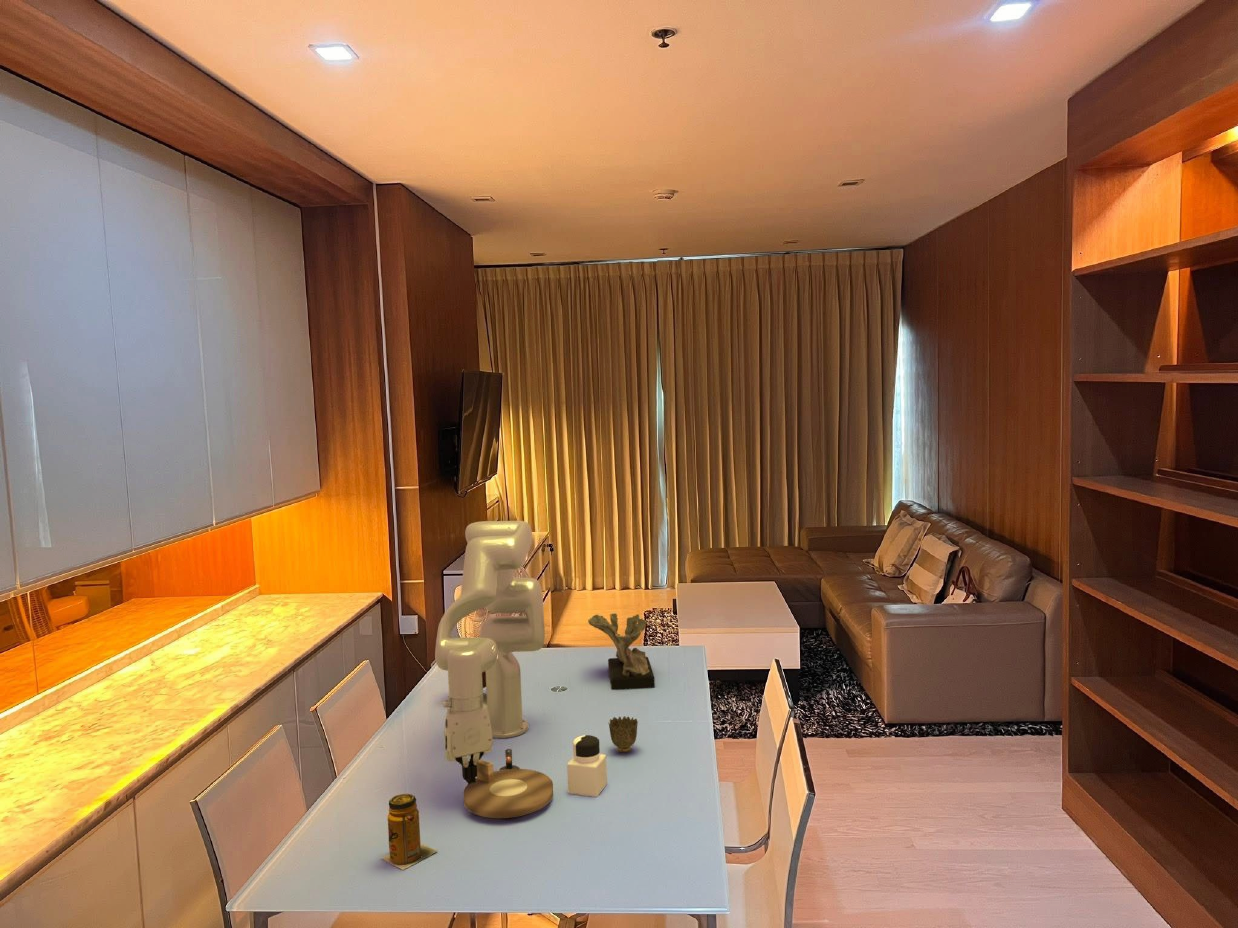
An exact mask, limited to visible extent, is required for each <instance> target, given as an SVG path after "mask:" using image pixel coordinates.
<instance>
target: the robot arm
mask: <svg viewBox="0 0 1238 928" xmlns="http://www.w3.org/2000/svg"><path fill="white" fill-rule="evenodd" d="M464 534H465V540H466V543H467V545H466V547H465V552H464V562H463V570H462V581H461V589H460V591H461V592H460V595H459V596H458V597H457V599H455V600H454V601H453V603H451V604H450V605H449V607H448V608H447V609H446V611H444V614H443V615H442V617H441V619H440V622H439V623H438V627H437V633H436V640H435V650H434V652H435V654H434V658H435V659H434V660H435V663H436V665H437V667H438V668H439V669H440V670H442V671H447V679H448V683H447V684H448V696H447V697H448V698H447V700H445V701H443V702H442V705H443V708H447V710H446V715H445V722H444V749H445V757H444V759H445V760H446V761H447V762H456V763H458V764H460V765H461V774H462V779H463V780H464V781H465V783H467V784H471V783H475V782H476V778H477V764H478V763H479V760H482V759H481V758H482V757H483V756H484V755H486V754H488V753H489V752H490V753H491V751H492V750H493V745H494V740H493V739H508V738H513V737H517V736H521V735H523V734H524V733H526V732H528V729H529V722H528V721H527V720H525V719H523V702H522V701H523V699H522V697H523V696H522V681H521V679H522V678H521V677H522V675H521V672H522V671H521V665H520V663H519V661H518V659H517V657H516V656H515V655H514V652H515V653H518V652H520V653H521V652H523V653H524V652H537V651H540V650H541V649H543V646H544V645H545V639H546V633H545V632H546V630H545V629H546V628H545V626H546V625H545V612H544V609H545V608H544V598H543V597H544V596H543V589H542V586H541V583H540V581H539V580H538V579H536V578H535V577H534V578H533V577H515V573H514V570H519V569H520V568H522V566H523V565H524V563H525V561H526V558H527V557H528V553H529V551H530V549H531V545H532V541H533V531H532V528H531V526H530V524H529V523H528V522H526V521H524V520H485V521H475V522H471V523H470V524H468V525H467V526H466V528H465V531H464ZM483 608H485V609H486V610H487V611H488V612H490V613H492V614H523V615H524V616H522V615H521V616H519V615H517V616H514V615H513V616H511V615H510V616H507V615H506V616H503V615H502V616H493V617H489V618H487V619H485V620H484V621H483V622H482V624H481V626H480V631H479V633H480V634H479V636H480V637H452V635H453V630H454V629H455V627H456V626H457V625H458V623H459V622H460V621H461V620H463V619H464V618H465V617H467V616H468V615H470V614H472V613H474V612H476V611H479V610H481V609H483ZM484 671H486V687H485V689H486V690H485V691H486V694H487V705H485V704H484V703H483V693H484V688H483V684H482V672H484ZM468 756H469V758H468Z"/></svg>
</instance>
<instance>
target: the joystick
mask: <svg viewBox="0 0 1238 928" xmlns="http://www.w3.org/2000/svg"><path fill="white" fill-rule="evenodd" d="M504 753H505V755H504V757H505V765H504V766H502V767H500V768H499V769H498V771H499V770H506V769H521V768H520V767H519V766H517V765H513V749H511V748H507V749H505V751H504Z"/></svg>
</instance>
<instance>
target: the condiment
mask: <svg viewBox="0 0 1238 928" xmlns="http://www.w3.org/2000/svg"><path fill="white" fill-rule="evenodd" d="M417 806H418V805H417V798H416V796H415V795H413V794H412V793H411V794H410V793H401V794H397V795H395V796H392V797H391V798H390V799H389V801H388V814H387V830H388V831H387V832H388V848H389V849H388V851H389V854H387V855H385V856H383V857H381V860H383V861H384V862H386V863H388V864H389V865H392V866H394V867H396V868H398V869H401V870H402V871H404V870H406V869H408V868H410V867H412V866H413V865H416V864H417V863H419V862H421V861H423V860H424V859H425V858H428V857H430V856H432V855H433V854H434V853H437V852H438V850H437V849H434V848H432V847H429V846H427V845H425V844H424V843H421V829H420V828H421V827H420V811H419V809H418V808H417Z"/></svg>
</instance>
